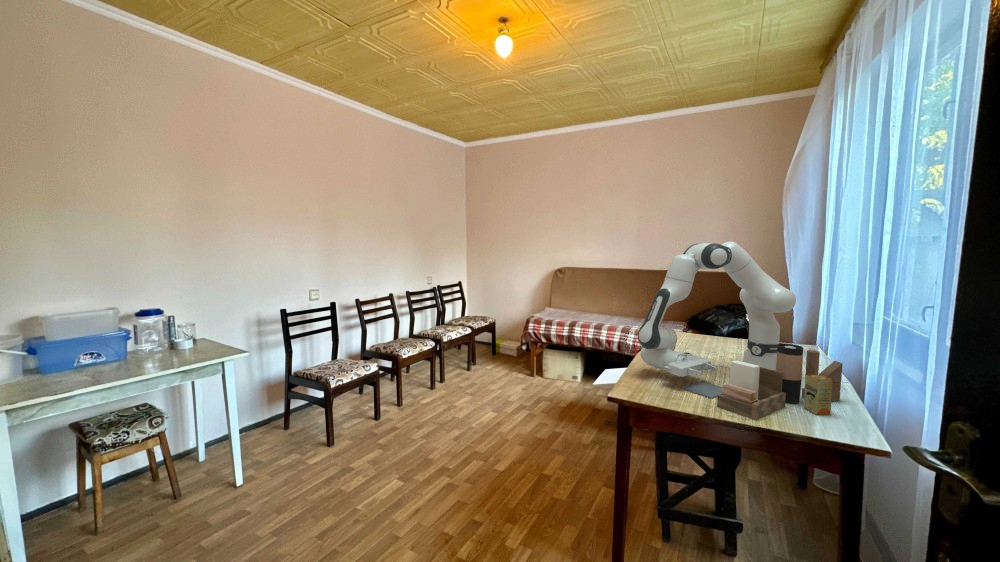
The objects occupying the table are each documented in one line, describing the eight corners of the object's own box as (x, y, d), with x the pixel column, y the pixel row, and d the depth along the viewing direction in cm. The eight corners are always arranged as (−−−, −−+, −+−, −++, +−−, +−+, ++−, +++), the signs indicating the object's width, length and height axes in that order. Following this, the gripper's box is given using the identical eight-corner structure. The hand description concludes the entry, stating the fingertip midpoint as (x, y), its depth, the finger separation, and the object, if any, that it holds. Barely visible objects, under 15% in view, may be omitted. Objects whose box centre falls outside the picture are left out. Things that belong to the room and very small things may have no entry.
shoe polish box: (815, 415, 128) (818, 379, 127) (803, 409, 133) (805, 374, 132) (830, 415, 128) (832, 379, 127) (817, 408, 133) (819, 374, 132)
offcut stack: (727, 404, 138) (728, 383, 137) (757, 414, 129) (758, 392, 129) (720, 406, 136) (721, 385, 135) (751, 417, 127) (752, 394, 127)
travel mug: (769, 396, 145) (772, 343, 143) (790, 396, 145) (793, 343, 143) (783, 404, 137) (786, 348, 135) (805, 404, 137) (809, 348, 135)
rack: (747, 395, 146) (748, 364, 145) (784, 406, 135) (786, 373, 134) (717, 406, 136) (718, 373, 134) (755, 420, 125) (757, 383, 124)
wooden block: (840, 402, 139) (843, 352, 138) (808, 401, 140) (811, 352, 138) (832, 398, 143) (835, 350, 141) (801, 397, 144) (804, 349, 142)
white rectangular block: (734, 397, 144) (736, 360, 143) (757, 404, 137) (759, 365, 136) (728, 399, 142) (730, 361, 141) (752, 406, 135) (754, 367, 134)
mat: (702, 382, 160) (702, 380, 160) (732, 391, 150) (732, 390, 149) (681, 388, 153) (681, 387, 153) (711, 398, 142) (711, 397, 142)
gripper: (660, 359, 156) (693, 368, 144) (691, 351, 167) (724, 359, 155) (660, 374, 157) (692, 384, 145) (690, 366, 167) (723, 375, 155)
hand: (709, 371), depth 150 cm, fingers open, 8 cm apart
